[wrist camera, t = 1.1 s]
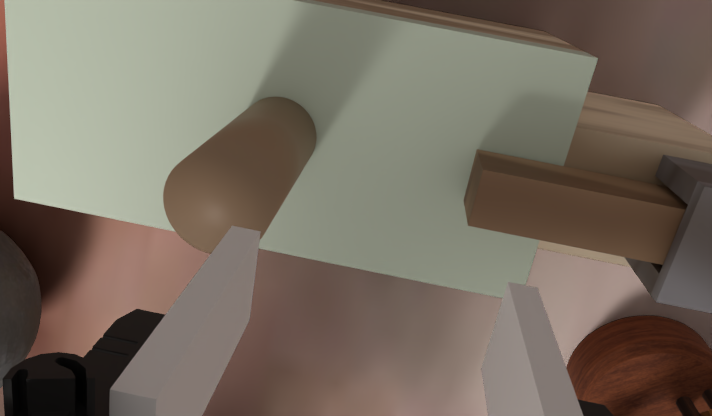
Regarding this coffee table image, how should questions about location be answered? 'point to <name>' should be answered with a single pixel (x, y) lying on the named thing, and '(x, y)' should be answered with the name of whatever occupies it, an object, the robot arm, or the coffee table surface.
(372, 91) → the lid
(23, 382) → the robot arm
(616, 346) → the music box
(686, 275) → the toolbox
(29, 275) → the bowl
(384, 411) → the coffee table surface
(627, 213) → the tan wooden beam
